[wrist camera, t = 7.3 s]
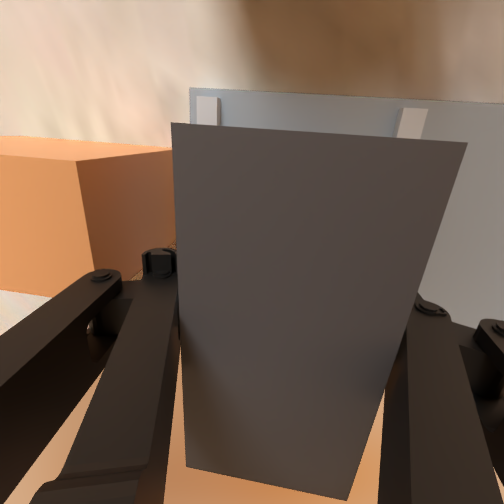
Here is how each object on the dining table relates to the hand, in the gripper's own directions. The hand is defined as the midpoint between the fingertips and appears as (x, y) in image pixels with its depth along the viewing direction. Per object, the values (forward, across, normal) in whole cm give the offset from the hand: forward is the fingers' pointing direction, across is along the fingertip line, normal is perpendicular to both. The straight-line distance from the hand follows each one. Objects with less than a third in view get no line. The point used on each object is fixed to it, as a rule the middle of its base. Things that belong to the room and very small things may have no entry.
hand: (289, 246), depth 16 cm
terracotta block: (+4, -14, +2) cm, 15 cm away
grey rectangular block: (+1, 0, 0) cm, 1 cm away
